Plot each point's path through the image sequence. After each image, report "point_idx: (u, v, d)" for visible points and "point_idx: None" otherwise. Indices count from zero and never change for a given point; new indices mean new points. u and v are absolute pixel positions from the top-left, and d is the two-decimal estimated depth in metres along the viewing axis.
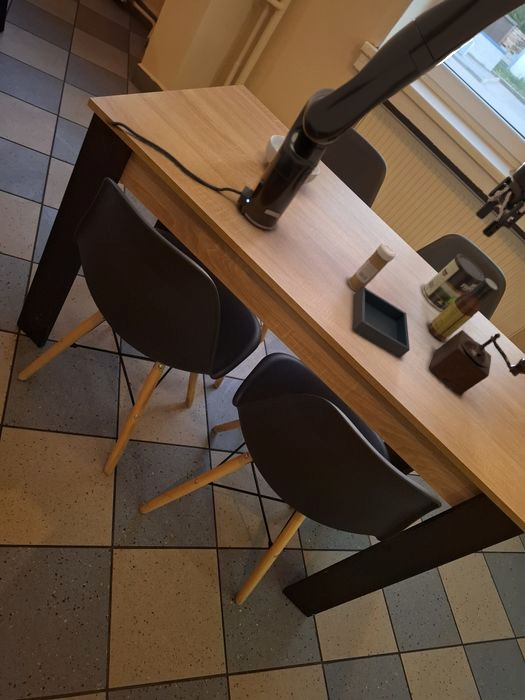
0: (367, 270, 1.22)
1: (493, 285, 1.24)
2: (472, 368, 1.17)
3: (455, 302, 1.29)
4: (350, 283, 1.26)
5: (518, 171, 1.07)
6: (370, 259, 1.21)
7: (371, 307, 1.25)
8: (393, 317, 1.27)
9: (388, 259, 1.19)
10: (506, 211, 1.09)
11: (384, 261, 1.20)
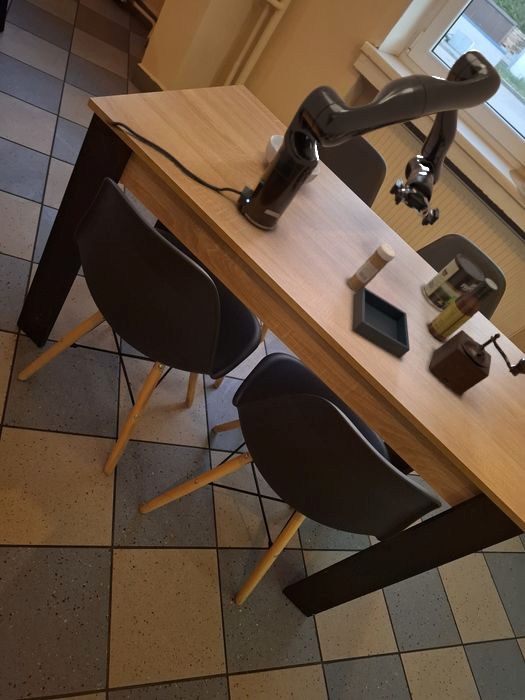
0: (367, 270, 1.22)
1: (493, 285, 1.24)
2: (472, 368, 1.17)
3: (455, 302, 1.29)
4: (350, 283, 1.26)
5: (427, 182, 1.31)
6: (370, 259, 1.21)
7: (371, 307, 1.25)
8: (393, 317, 1.27)
9: (388, 259, 1.19)
10: None
11: (384, 261, 1.20)
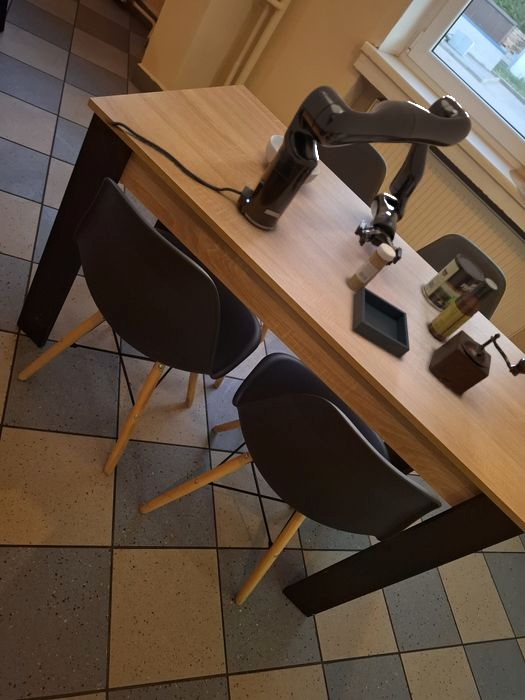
0: (367, 270, 1.22)
1: (493, 285, 1.24)
2: (472, 368, 1.17)
3: (455, 302, 1.29)
4: (350, 283, 1.26)
5: (390, 223, 1.37)
6: (370, 259, 1.21)
7: (371, 307, 1.25)
8: (393, 317, 1.27)
9: (388, 259, 1.19)
10: None
11: (384, 261, 1.20)
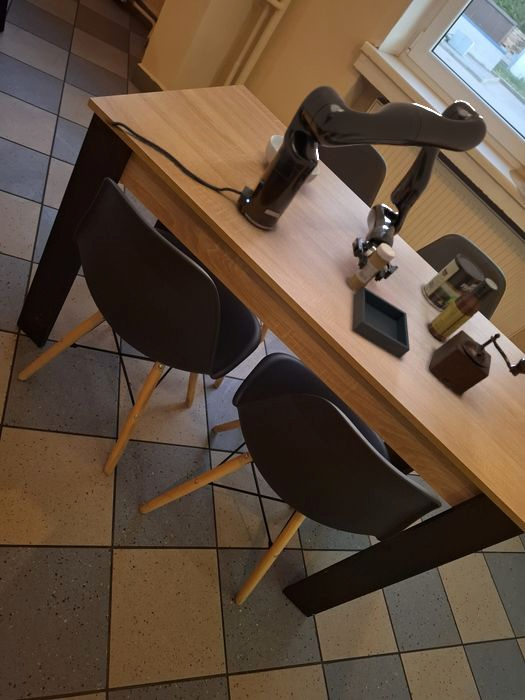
0: (366, 270, 1.22)
1: (493, 285, 1.24)
2: (472, 368, 1.17)
3: (455, 302, 1.29)
4: (350, 283, 1.26)
5: (386, 238, 1.30)
6: (370, 259, 1.21)
7: (371, 307, 1.25)
8: (393, 317, 1.27)
9: (388, 259, 1.19)
10: None
11: (384, 261, 1.20)
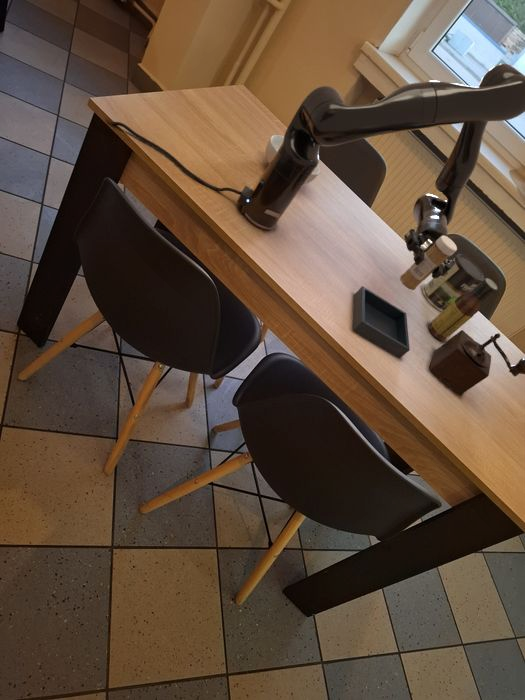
0: (423, 266, 1.09)
1: (493, 285, 1.24)
2: (472, 368, 1.17)
3: (455, 302, 1.29)
4: (403, 280, 1.13)
5: (442, 230, 1.17)
6: (428, 254, 1.08)
7: (371, 307, 1.25)
8: (393, 317, 1.27)
9: (449, 253, 1.06)
10: None
11: (444, 255, 1.07)
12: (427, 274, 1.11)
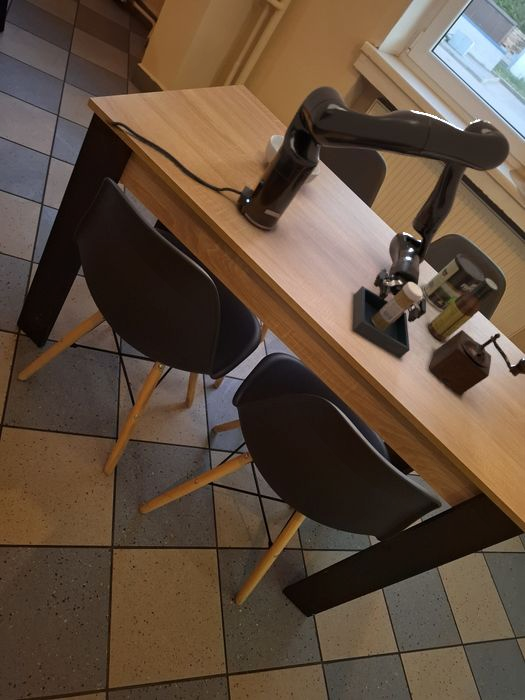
0: (392, 310, 1.16)
1: (493, 285, 1.24)
2: (472, 368, 1.17)
3: (455, 302, 1.29)
4: (373, 322, 1.20)
5: (413, 271, 1.23)
6: (396, 299, 1.15)
7: (371, 307, 1.25)
8: None
9: (415, 299, 1.13)
10: None
11: (411, 301, 1.13)
12: (396, 317, 1.17)
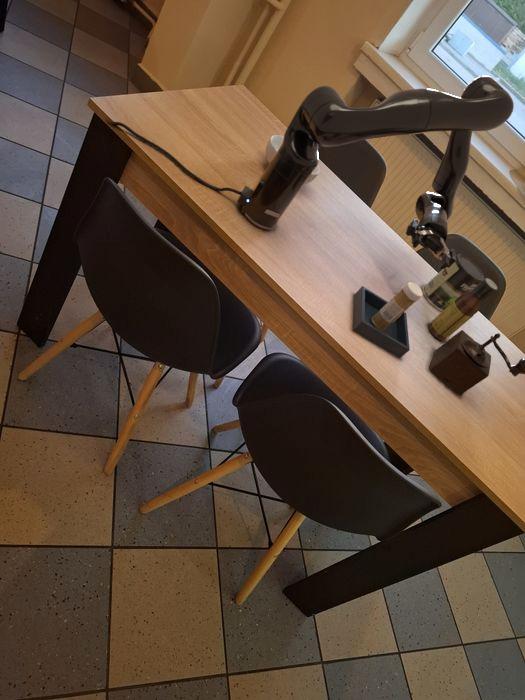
0: (392, 310, 1.16)
1: (493, 285, 1.24)
2: (472, 368, 1.17)
3: (455, 302, 1.29)
4: (373, 322, 1.20)
5: (442, 223, 1.26)
6: (396, 299, 1.15)
7: (371, 307, 1.25)
8: None
9: (415, 299, 1.13)
10: None
11: (411, 301, 1.13)
12: (396, 317, 1.17)
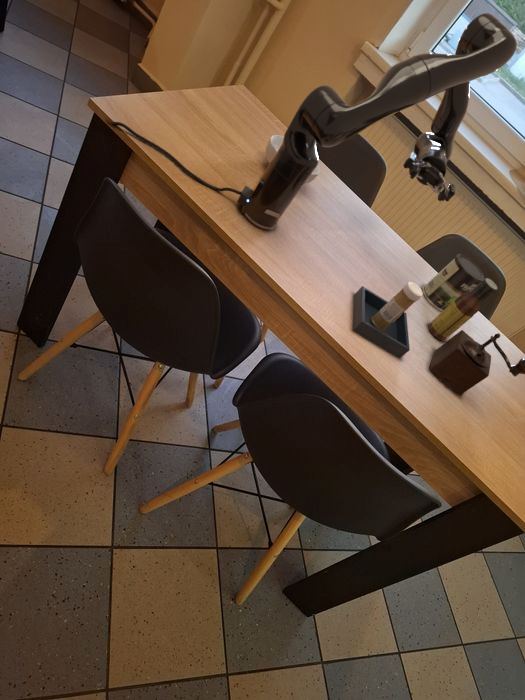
0: (392, 310, 1.16)
1: (493, 285, 1.24)
2: (472, 368, 1.17)
3: (455, 302, 1.29)
4: (373, 322, 1.20)
5: (441, 157, 1.23)
6: (396, 299, 1.15)
7: (371, 307, 1.25)
8: None
9: (415, 299, 1.13)
10: None
11: (411, 301, 1.13)
12: (396, 317, 1.17)
